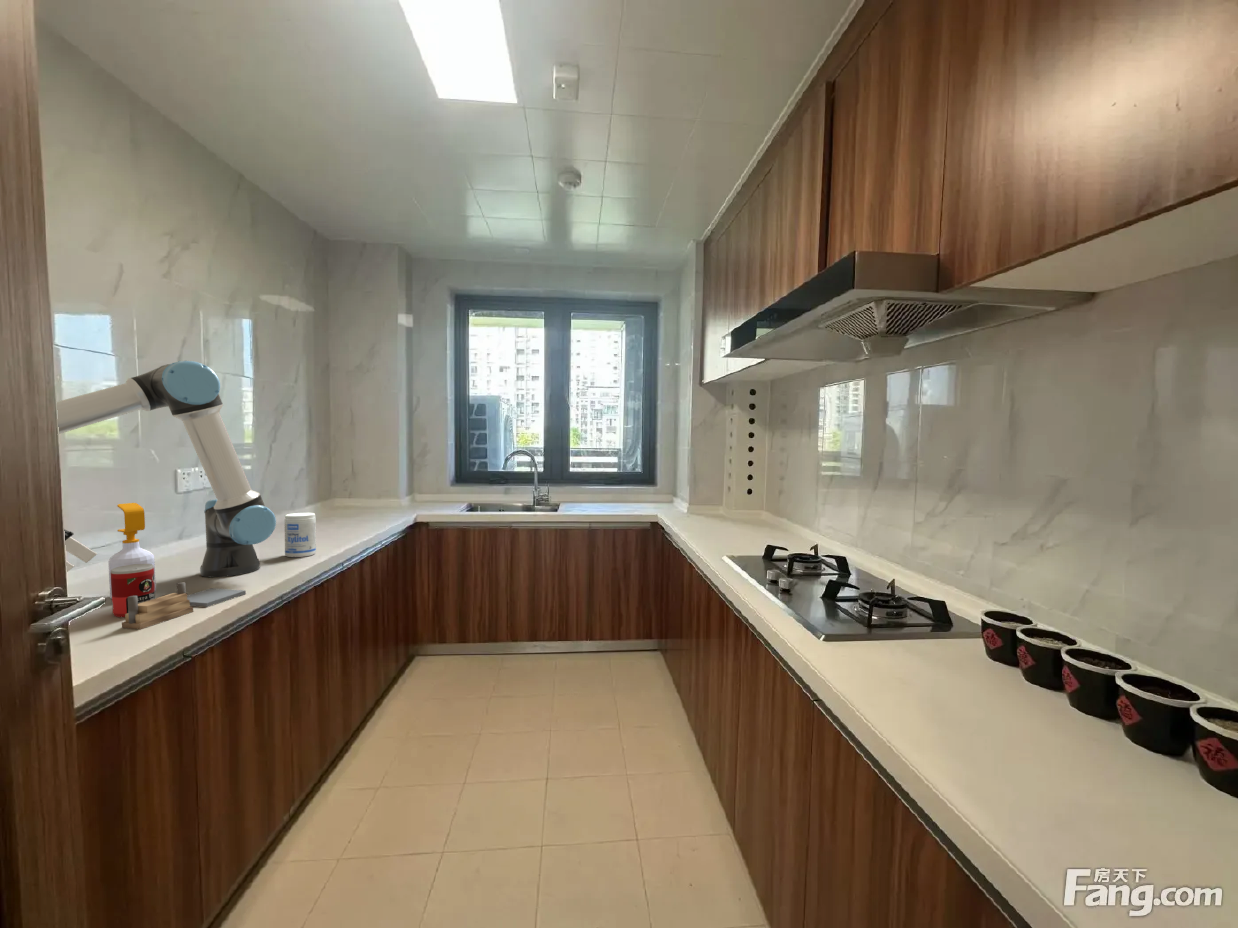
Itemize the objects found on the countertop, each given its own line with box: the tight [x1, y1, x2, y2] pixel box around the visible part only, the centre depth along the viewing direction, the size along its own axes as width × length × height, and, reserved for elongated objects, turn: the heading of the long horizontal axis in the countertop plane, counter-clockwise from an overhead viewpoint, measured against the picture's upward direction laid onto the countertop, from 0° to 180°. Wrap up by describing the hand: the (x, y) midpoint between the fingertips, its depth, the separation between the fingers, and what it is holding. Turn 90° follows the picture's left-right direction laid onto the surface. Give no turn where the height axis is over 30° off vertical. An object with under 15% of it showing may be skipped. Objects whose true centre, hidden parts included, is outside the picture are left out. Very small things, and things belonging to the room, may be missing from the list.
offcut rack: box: [121, 581, 194, 630], centre depth 123 cm, size 12×5×7 cm, turn 169°
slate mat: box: [187, 587, 247, 608], centre depth 138 cm, size 11×11×1 cm
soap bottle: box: [107, 502, 157, 600], centre depth 141 cm, size 9×9×25 cm
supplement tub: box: [284, 512, 317, 558], centre depth 189 cm, size 10×10×15 cm
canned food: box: [111, 564, 156, 618], centre depth 128 cm, size 8×8×11 cm
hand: (81, 564), depth 123 cm, fingers open, 13 cm apart
